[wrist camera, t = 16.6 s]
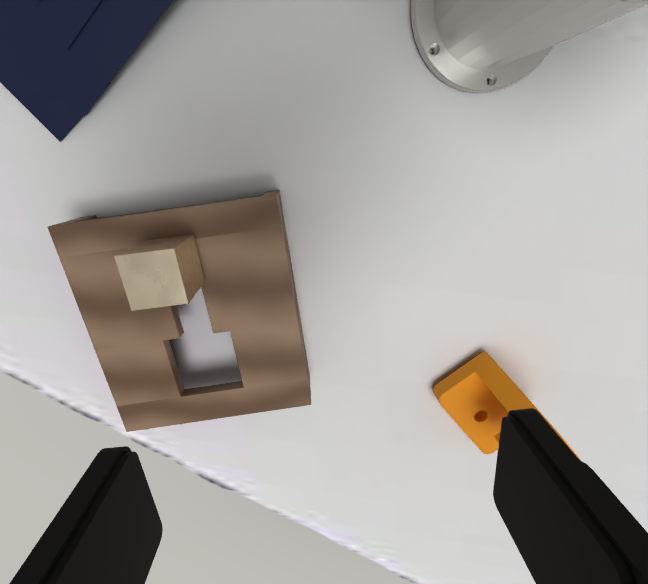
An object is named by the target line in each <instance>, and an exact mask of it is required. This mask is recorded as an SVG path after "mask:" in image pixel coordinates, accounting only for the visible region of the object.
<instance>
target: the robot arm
mask: <svg viewBox="0 0 648 584" xmlns="http://www.w3.org/2000/svg"><path fill="white" fill-rule="evenodd" d="M646 4H648V0H412V2H411V21H412V28H413V33H414V38H415V42H416V44H417V47H418V50H419V52H420V55H421V57H422V58H423V60H424V61H425V63H426V65H427V66H428V68H429V69H430V70H431V71H432V72H433V73H434V74H435V75H436V76H437V77H438V78H439V79H440V80H441V81H443V82H444V83H446V84H447V85H449V86H450V87H453V88H456V89H458V90H461V91H465V92H472V93H484V92H492V91H495V90H499V89H502V88H505V87H507V86H509V85H512V84H514V83H516V82H518V81H519V80H521V79H522V78H524V77H525V76H527V75H528V74H530V73H531V72H532V71H533V70H534V69H535V68H536V67H537V66H538V65H539V64H540V63H541V62H542V61H543V60H544V58H545V57H546V56H547V55H548V53H549V52H550V51H551V49H552V48H553V46H554V45H555V44H557V43H560V42H562V41H564V40H566V39H569V38H571V37H573V36H576V35H578V34H580V33H582V32H585V31H587V30H589V29H592V28H594V27H596V26H598V25H601V24H603V23H605V22H608V21H610V20H612V19H614V18H617V17H619V16H621V15H624V14H626V13H628V12H630V11H633V10H635V9H637V8H640V7H642V6H644V5H646ZM429 49H432V50H433V52H434V53H433V55H431V54H430V52H429ZM487 79H488V80H489V84H487V81H486V80H487ZM493 496H494V501H495V504H496V507H497V509H498V511H499V513H500V515H501V517H502V519H503V521H504V523H505V525H506V527H507V528H508V530H509V532H510V534H511V536H512V538H513V540H514V542H515V544H516V546H517V548H518V550H519V552H520V554H521V555H522V557H523V559H524V561H525V563H526V565H527V567H528V569H529V571H530V573H531V575H532V577H533V579H534V581H535V582H536V584H648V533H647V532H646V530H645V529H644V528H643V527H642V526H641V525H640V524H639V522H638V521H637V520H636V519H635V518H634V517H633V516H632V514H631V513H630V512H629V511H628V510H627V509H626V508H625V506H624V505H623V504H622V503H621V502H620V501H619V500H618V498H617V497H616V496H615V495H614V494H613V493H612V492H611V490H610V489H609V488H608V487H607V486H606V485H605V483H604V482H603V481H602V480H601V479H600V478H599V477H598V475H597V474H596V473H595V472H594V471H593V470H592V469H591V468H590V467H589V466H588V465H587V464H586V463H584V462H582V461H580V460H579V458H578V457H577V456H576V455H575V454H574V453H573V451H572V450H571V449H570V448H569V447H568V446H567V444H566V443H565V442H564V441H563V440H562V439H561V437H560V436H559V435H558V434H557V433H556V432H555V430H554V429H553V428H552V427H551V426H550V425H549V423H548V422H547V421H546V420H545V419H544V418H543V416H542V415H541V414H540V413H539V412H538V411H537V410H536V409H534V408H529V409H519V410H510V411H509V412H508V415H507V417H503V418H502V422H501V431H500V439H499V448H498V456H497V465H496V473H495V482H494V490H493ZM161 537H162V523H161V520H160V517H159V514H158V511H157V509H156V506H155V503H154V500H153V497H152V494H151V492H150V489H149V486H148V483H147V480H146V477H145V474H144V472H143V469H142V466H141V463H140V460H139V457H138V455H137V453H136V452H132V451H131V450H130V448H129V447H115V448H104V449H102V450H101V451H100V452H99V453H98V454H97V456H96V457H95V459H94V460H93V462H92V463H91V465H90V466H89V468H88V469H87V470H86V472H85V473H84V475H83V476H82V478H81V479H80V481H79V482H78V484H77V485H76V487H75V488H74V490H73V491H72V493H71V494H70V495H69V497H68V498H67V500H66V501H65V503H64V504H63V506H62V507H61V509H60V510H59V512H58V513H57V515H56V516H55V518H54V519H53V521H52V522H51V523H50V525H49V526H48V528H47V529H46V531H45V532H44V534H43V535H42V537H41V538H40V540H39V541H38V543H37V544H36V546H35V547H34V549H33V550H32V552H31V553H30V555H29V556H28V557H27V559H26V561H25V562H24V563H23V565H22V566H21V568H20V569H19V571H18V572H17V574H16V575H15V577H14V578H13V580H12V581H11V582H10V584H145V581H146V578H147V576H148V573H149V570H150V568H151V565H152V562H153V560H154V557H155V554H156V552H157V549H158V546H159V544H160V541H161Z"/></svg>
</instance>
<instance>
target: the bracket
mask: <svg viewBox="0 0 648 584" xmlns="http://www.w3.org/2000/svg"><path fill="white" fill-rule="evenodd" d="M433 391H434V394H435V396H436V398H437V399H438V401H439V403H440V404H441V406H442V407H443V408H444V409H445V410H446V411H447V413H448V414H449V415H450V416H451V417H452V418H453V419H454V421H455V422H456V423H457V424H458V425H459V426H460V427H461V429H462V430H463V431H464V432H465V433H466V434H467V435H468V437H469V438H470V439H471V440H472V441H473V442H474V443H475V445H476V446H477V447H478V448H479V449H480V450H481V451H482V452H483V453H485V454H491V453H493V452H495V451H496V450H498V448H499V439H500V431H501V422H502V418H503V417H507V415H508V412H509V411H510V410H519V409H529V408H534V409H536V410H537V411H538V409H537V408H536V407H535V406H534V405H533V404H532V403H531V402H530V400H529V399H528V398H527V397H526V396H525V395H524V394H523V393H522V391H521V390H520V389H519V388H518V387H517V386H516V385H515V384H514V383H513V381H512V380H511V379H510V378H509V377H508V376H507V375H506V374H505V372H504V371H503V370H502V369H501V368H500V367H499V366H498V365H497V364H496V362H495V361H494V360H493V359H492V358H491V357H490V356H489V355H488V354H487V353H486V352H485V351H483V352H482V353H480V354H479V355H478V356H476V357H475V358H473V359H472V360H470V361H469V362H468V363H466V364H465V365H463V366H462V367H460V368H459V369H458V370H456V371H455V372H453V373H452V374H450V375H449V376H448V377H446V378H445V379H443V380H442V381H440V382H439V383H437V384H436V385H435V387H434V390H433ZM538 412H539V411H538ZM539 413H540V412H539ZM540 414H541V413H540ZM541 415H542V414H541ZM542 416H543V415H542ZM543 418H544V419H545V420H546V421H547V419H546V418H545V417H544V416H543ZM547 422H548V421H547ZM548 423H549V422H548ZM549 425H550V426H551V427H552V428H553V429H554V430H555V428H554V427H553V426H552V425H551V424H550V423H549ZM555 432H556V433H557V434H558V435H559V436H560V437H561V435H560V434H559V433H558V432H557V431H556V430H555ZM561 439H562V440H563V441H564V442H565V443H566V444H567V442H566V441H565V440H564V439H563V438H562V437H561ZM567 446H568V447H569V448H570V449H571V447H570V446H569V445H568V444H567ZM571 450H572V449H571ZM572 451H573V450H572ZM573 453H574V454H575V452H574V451H573ZM575 455H576V454H575ZM576 456H577V455H576ZM577 457H578V456H577ZM579 460H580V459H579ZM580 461H581V460H580Z"/></svg>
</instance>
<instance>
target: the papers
mask: <svg viewBox="0 0 648 584" xmlns="http://www.w3.org/2000/svg"><path fill="white" fill-rule="evenodd" d="M172 1H173V0H0V82H1V83H2V84H3V85H4V86H5V87H6V88H7V89H8V90H9V91H10V92H11V93H12V94H13V95H14V96H15V97H16V98H17V99H18V100H19V101H20V102H21V103H22V104H23V105H24V106H25V107H26V108H27V109H28V110H29V111H30V112H31V113H32V114H33V115H34V116H35V117H36V118H37V119H38V120H39V121H40V122H41V123H42V124H43V125H44V126H45V127H46V128H47V129H48V130H49V131H50V132H51V133H52V134H53V135H54V136H55V137H56V138H57V139H58V140H59V141H60V142H61V140H62V139H63V138H64V137H65V136H66V135H67V133H68V132H69V131H70V130H71V129H72V128H73V127H74V125H75V124H76V123H77V122H78V121H79V120H80V118H81V117H82V116H85V115H86V114H87V112H88V111H89V110H90V109H91V107H92V106H93V105H94V103H95V102H96V101H97V100H98V98H99V97H100V96H101V94H102V93H103V92H104V90H105V89H106V88H107V87H108V85H109V84H110V83H111V82H110V81H111V80H112V79H113V77H114V76H115V75H116V74H117V72H118V71H119V70H120V68H121V67H122V66H123V64H124V63H125V62H126V61H127V59H128V58H129V57H130V55H131V54H132V53H133V51H134V50H135V49H136V48H137V46H138V45H139V44H140V42H141V41H142V40H143V38H144V37H145V36H146V35H147V33H148V32H149V31H150V29H151V28H152V27H153V25H154V24H155V23H156V21H157V20H158V19H159V18H160V16H161V15H162V14H163V12H164V11H165V10H166V8H167V7H168V6H169V5H170V3H171V2H172Z"/></svg>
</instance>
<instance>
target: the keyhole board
mask: <svg viewBox="0 0 648 584" xmlns="http://www.w3.org/2000/svg"><path fill="white" fill-rule="evenodd" d="M48 230H49V232H50V235H51V237H52V240H53V242H54V245H55V248H56V250H57V253H58V255H59V258H60V261H61V263H62V266H63V268H64V271H65V274H66V276H67V279H68V281H69V284H70V286H71V289H72V292H73V294H74V297H75V299H76V302H77V305H78V307H79V310H80V312H81V315H82V318H83V320H84V323H85V325H86V328H87V330H88V333H89V336H90V338H91V341H92V343H93V346H94V349H95V351H96V354H97V356H98V359H99V362H100V364H101V367H102V369H103V372H104V374H105V377H106V380H107V382H108V385H109V387H110V390H111V393H112V395H113V398H114V400H115V403H116V405H117V408H118V411H119V413H120V416H121V418H122V421H123V424H124V426H125V429H126V431H127V432H129V431H136V430H143V429H149V428H156V427H163V426H170V425H176V424H183V423H190V422H197V421H204V420H210V419H217V418H224V417H231V416H238V415H244V414H251V413H258V412H265V411H271V410H278V409H285V408H292V407H299V406H305V405H311V391H310V375H309V369H308V362H307V356H306V350H305V344H304V338H303V332H302V326H301V320H300V314H299V308H298V302H297V296H296V289H295V283H294V277H293V271H292V265H291V259H290V253H289V247H288V241H287V235H286V229H285V222H284V216H283V210H282V204H281V198H280V192H279V190H276V191H269V192H266V193H265V194H264V195H263V196H258V197H251V198H244V199H236V200H229V201H222V202H215V203H207V204H200V205H193V206H186V207H178V208H171V209H164V210H157V211H149V212H142V213H135V214H128V215H120V216H113V217H106V218H99V219H97V218H96V215H94V216H87V217H81V218H77V219H74V220H70V221H67V222H63V223H60V224H56V225H52V226H49V227H48ZM190 234H194V238H195V242H196V246H197V250H198V254H199V258H200V263H201V267H202V271H203V275H204V279H205V282H204V283H203V285H202V286H201V287H202V291H203V295H204V298H205V302H206V306H207V310H208V314H209V318H210V322H211V326H212V330H213V333H219V332H226V331H230V332H231V336H232V340H233V344H234V349H235V353H236V357H237V361H238V365H239V370H240V374H241V378H242V381H239V382H232V383H225V384H218V385H211V386H205V387H198V388H191V389H184V387H183V384H182V381H181V377H180V374H179V371H178V368H177V364H176V361H175V358H174V355H173V351H172V348H171V345H170V341H169V340H170V339H177V338H180V337H181V335H182V334H183V332H184V331H183V328H182V325H181V321H180V318H179V314H178V311H177V307H176V305H173V306H165V307H158V308H150V309H142V310H134V311H131V308H130V304H129V301H128V298H127V295H126V292H125V289H124V286H123V283H122V279H121V276H120V273H119V270H118V267H117V264H116V261H115V257H114V256H115V255H117V254H119V253H121V252H123V251H124V250H126V249H128V248H130V247H132V246H134V245H136V244H137V243H139V242H141V241H143V240H150V239H158V238H166V237H174V236H182V235H190Z"/></svg>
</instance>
